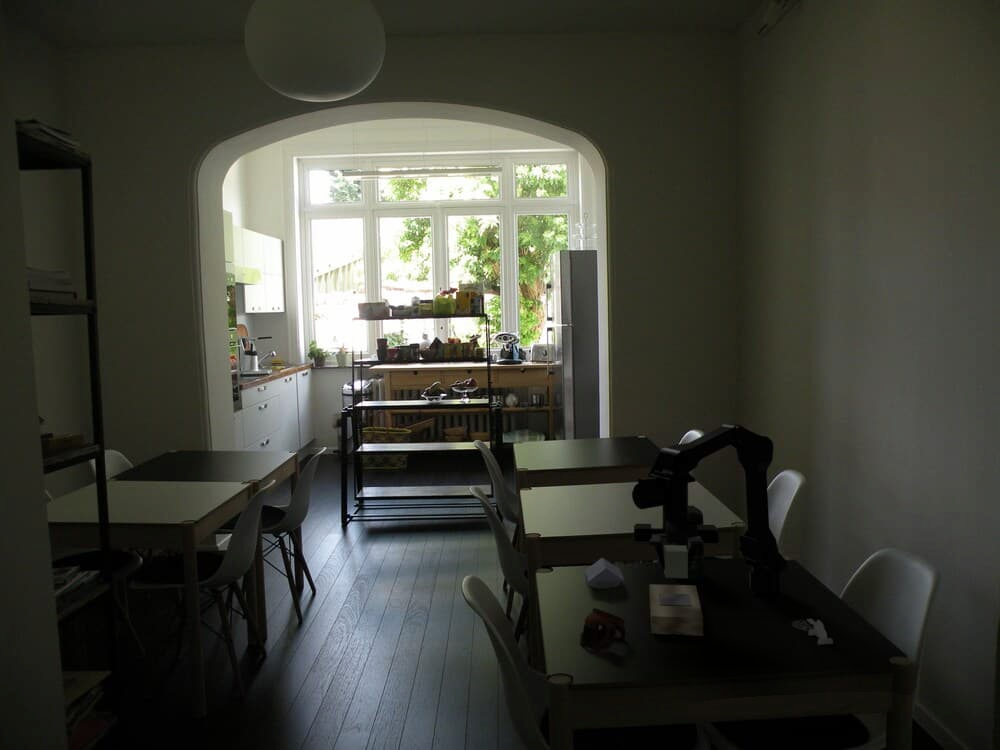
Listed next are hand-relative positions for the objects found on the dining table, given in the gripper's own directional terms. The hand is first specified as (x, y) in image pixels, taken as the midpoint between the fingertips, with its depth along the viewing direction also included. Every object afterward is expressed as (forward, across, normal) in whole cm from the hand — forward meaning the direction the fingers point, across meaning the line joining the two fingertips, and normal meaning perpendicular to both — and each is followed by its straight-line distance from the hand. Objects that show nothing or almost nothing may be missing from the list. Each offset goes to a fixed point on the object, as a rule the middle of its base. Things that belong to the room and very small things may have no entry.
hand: (675, 569), depth 182 cm
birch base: (+11, 0, 0) cm, 11 cm away
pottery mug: (+12, -16, -16) cm, 25 cm away
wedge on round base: (+12, -17, +20) cm, 29 cm away
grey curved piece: (+12, +29, -6) cm, 32 cm away
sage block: (+1, 0, 0) cm, 1 cm away
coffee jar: (+11, +5, +28) cm, 31 cm away
